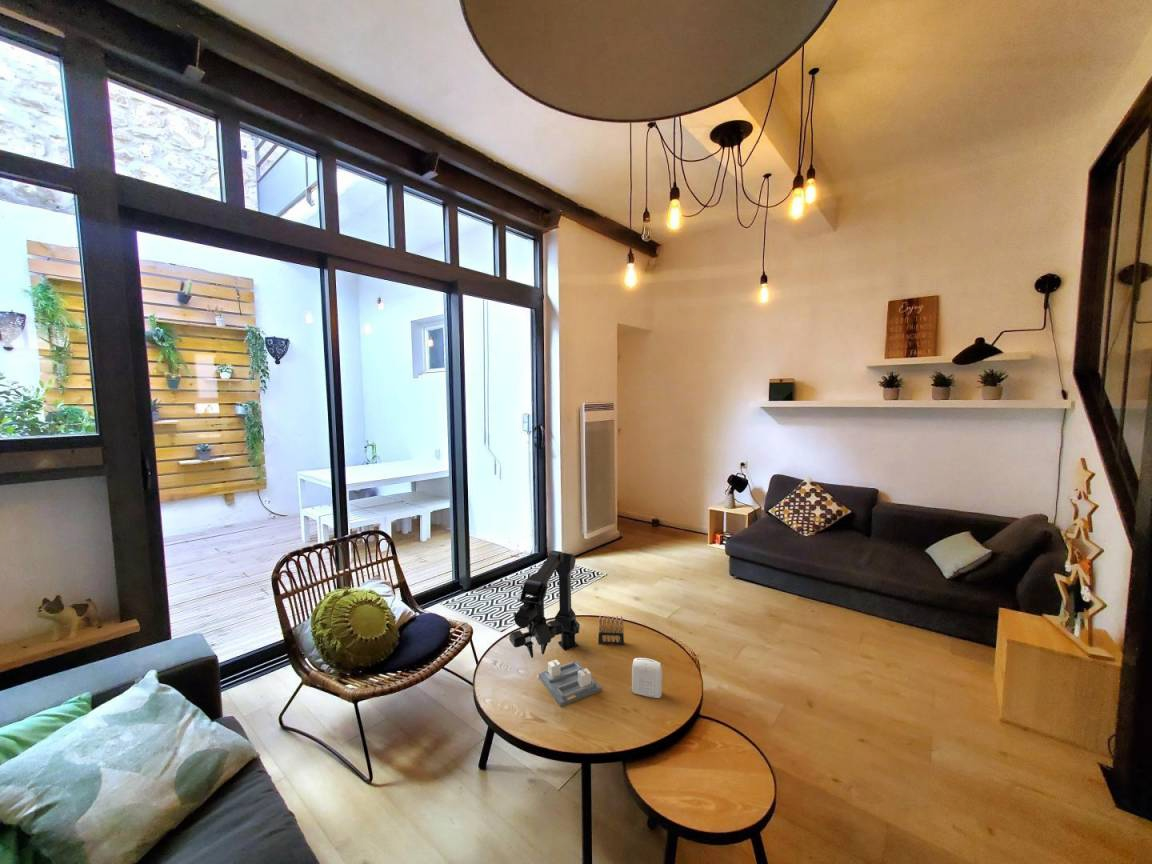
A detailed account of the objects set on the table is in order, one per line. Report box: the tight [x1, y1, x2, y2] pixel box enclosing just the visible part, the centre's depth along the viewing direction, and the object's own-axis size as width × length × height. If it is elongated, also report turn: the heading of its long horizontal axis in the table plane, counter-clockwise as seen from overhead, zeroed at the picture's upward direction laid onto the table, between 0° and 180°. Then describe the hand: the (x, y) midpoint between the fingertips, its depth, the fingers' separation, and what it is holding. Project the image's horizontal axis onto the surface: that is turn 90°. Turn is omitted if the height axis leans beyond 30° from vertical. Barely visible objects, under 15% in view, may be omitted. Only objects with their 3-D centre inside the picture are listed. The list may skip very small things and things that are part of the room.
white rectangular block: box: [547, 659, 561, 678], centre depth 162 cm, size 3×4×5 cm
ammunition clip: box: [597, 615, 625, 646], centre depth 184 cm, size 11×2×12 cm, turn 84°
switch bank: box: [538, 660, 602, 707], centre depth 159 cm, size 18×16×2 cm
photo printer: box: [631, 657, 663, 699], centre depth 153 cm, size 10×4×12 cm, turn 73°
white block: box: [578, 667, 592, 688], centre depth 156 cm, size 3×4×5 cm
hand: (537, 655), depth 158 cm, fingers open, 4 cm apart
